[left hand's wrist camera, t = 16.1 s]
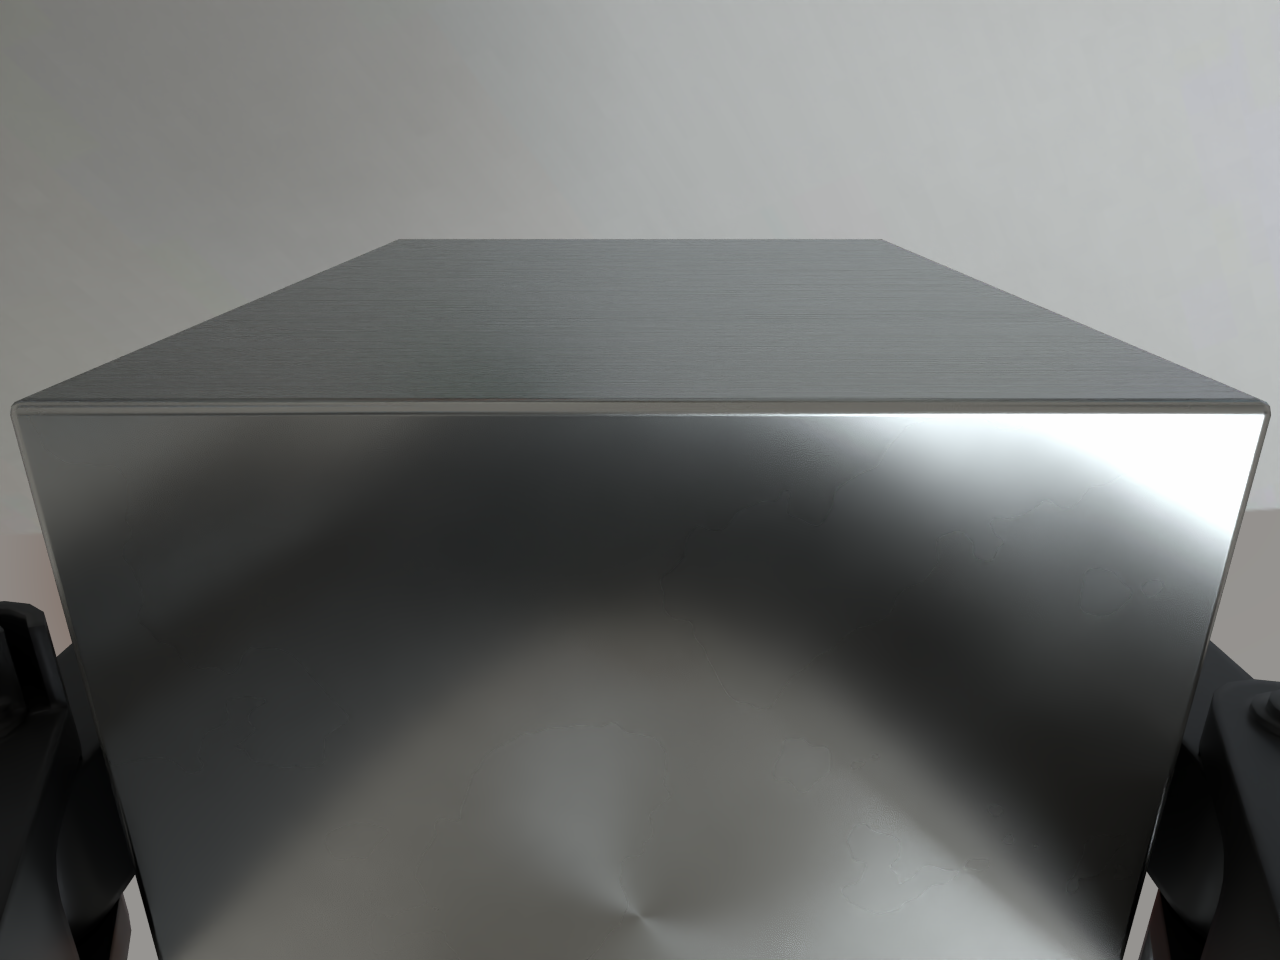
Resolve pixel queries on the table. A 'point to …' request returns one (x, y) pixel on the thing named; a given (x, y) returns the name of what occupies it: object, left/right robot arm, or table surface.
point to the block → (640, 606)
